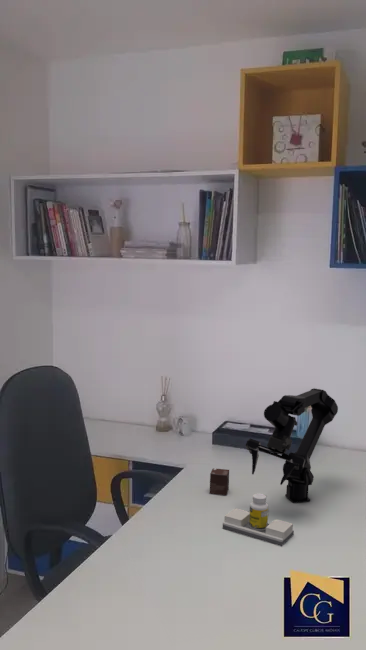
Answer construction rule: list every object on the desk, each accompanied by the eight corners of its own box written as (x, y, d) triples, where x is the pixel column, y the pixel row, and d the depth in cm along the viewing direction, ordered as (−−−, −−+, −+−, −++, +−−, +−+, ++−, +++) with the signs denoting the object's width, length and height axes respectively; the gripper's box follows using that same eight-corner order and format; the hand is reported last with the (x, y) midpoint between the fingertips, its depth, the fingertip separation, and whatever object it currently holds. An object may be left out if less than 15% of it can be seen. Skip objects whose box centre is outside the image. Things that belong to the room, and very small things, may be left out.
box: (226, 496, 208) (227, 475, 207) (209, 494, 209) (209, 473, 208) (228, 489, 214) (229, 469, 213) (211, 487, 215) (212, 467, 214)
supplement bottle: (245, 526, 182) (246, 494, 181) (259, 522, 185) (260, 491, 184) (257, 533, 177) (258, 500, 176) (271, 529, 180) (272, 497, 179)
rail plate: (222, 528, 182) (223, 516, 182) (236, 518, 190) (236, 507, 190) (281, 546, 172) (282, 533, 172) (293, 534, 180) (294, 522, 180)
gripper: (252, 416, 190) (235, 463, 185) (311, 436, 185) (295, 485, 180) (255, 426, 200) (239, 471, 195) (310, 444, 195) (295, 491, 189)
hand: (266, 479), depth 190 cm, fingers open, 9 cm apart
